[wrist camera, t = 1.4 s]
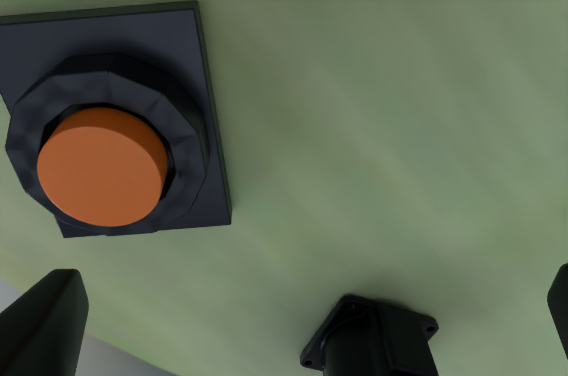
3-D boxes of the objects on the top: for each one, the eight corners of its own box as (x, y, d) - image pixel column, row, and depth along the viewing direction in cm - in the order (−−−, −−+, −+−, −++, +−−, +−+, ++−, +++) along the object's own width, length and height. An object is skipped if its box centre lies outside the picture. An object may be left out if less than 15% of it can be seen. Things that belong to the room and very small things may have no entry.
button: (177, 198, 20) (172, 222, 19) (73, 207, 20) (60, 231, 19) (154, 102, 18) (146, 121, 16) (34, 111, 18) (17, 131, 16)
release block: (232, 209, 24) (229, 251, 21) (71, 222, 24) (50, 265, 22) (197, -1, 18) (188, 23, 16) (-15, 17, 18) (-57, 43, 16)
